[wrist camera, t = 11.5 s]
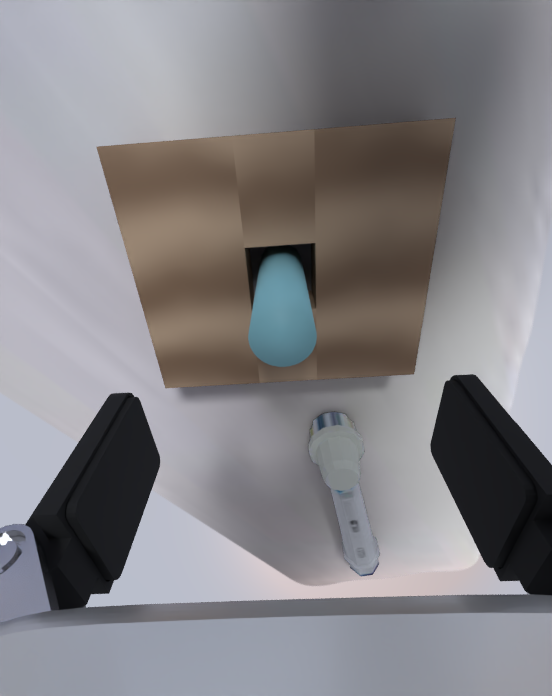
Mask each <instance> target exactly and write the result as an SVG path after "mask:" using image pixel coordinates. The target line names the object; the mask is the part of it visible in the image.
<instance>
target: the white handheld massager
mask: <svg viewBox="0 0 552 696" xmlns="http://www.w3.org/2000/svg"><path fill="white" fill-rule="evenodd" d="M310 437H311V440H310V442H309V445H308V450H309V454H310V457H311V460H312V462H314V463H315V464H316V465H318V466H319V467H320V471H321V474H322V478H323V480H324V482H325V483H326V485H327V486H328V487H330V489H331V493H332V497H333V501H334V505H335V509H336V514H337V518H338V522H339V526H340V530H341V534H342V538H343V542H342V547H343V553H344V558H345V560H346V561H347V562H348V563H349V565H350V568H351V569H352V570H354V571H355V572H356V573H357V574H359V575H360V576H367V575H373V573H374V572H375V570H376V568H377V567H378V565H379V562H378V557H379V556H380V552H379V548H378V544H377V540H376V538H375V537H374V536H373V535H372V531H371V528H370V524H369V520H368V516H367V512H366V508H365V505H364V501H363V497H362V493H361V489H360V485H359V480H360V475H361V471H360V465H359V461H360V459H361V457H362V455H363V454H364V446H363V441H362V437H361V435H360V434H358V433H357V432H356V429H355V425H354V422H353V421H352V422H351V421H350V420H349V419H348V418H347V417H346V414H342V413H338V412H330V413H325V414H322V415H320V416H319V417H317V418H316V419H315V420H313V426H312V428H311V429H310Z"/></svg>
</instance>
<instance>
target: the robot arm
mask: <svg viewBox="0 0 552 696" xmlns="http://www.w3.org/2000/svg"><path fill="white" fill-rule="evenodd" d="M431 453H432V456H433V458H434V460H435V462H436V464H437V466H438V468H439V470H440V472H441V474H442V476H443V478H444V480H445V482H446V484H447V486H448V488H449V490H450V492H451V495H452V497H453V499H454V501H455V503H456V505H457V507H458V509H459V511H460V513H461V515H462V517H463V519H464V521H465V523H466V525H467V527H468V529H469V531H470V533H471V535H472V537H473V540H474V542H475V544H476V546H477V548H478V550H479V552H480V554H481V556H482V558H483V560H484V562H485V563H486V565H487V566H488V567H490V568H494V570H495V572H496V574H497V576H498V578H499V580H500V581H520V583H521V584H522V586H523V588H524V590H525V591H526V592H527V595H443V596H402V597H361V598H329V599H296V600H295V599H293V600H263V601H262V600H260V601H230V602H201V603H175V604H174V603H173V604H145V605H125V606H106V607H88V608H86V606H85V605H86V604H87V602H88V600H89V597H90V595H91V594H105V593H109V592H110V590H111V587H112V584H113V581H114V580H117V579H118V578H119V577H120V576H121V574H122V571H123V568H124V566H125V563H126V560H127V557H128V554H129V551H130V549H131V546H132V543H133V540H134V537H135V535H136V532H137V529H138V526H139V523H140V521H141V518H142V515H143V512H144V509H145V506H146V504H147V501H148V498H149V495H150V492H151V490H152V487H153V484H154V481H155V478H156V476H157V473H158V470H159V467H160V456H159V453H158V450H157V447H156V444H155V442H154V439H153V436H152V433H151V430H150V428H149V425H148V422H147V419H146V416H145V414H144V411H143V408H142V405H141V402H140V400H139V398H138V397H134V396H133V394H132V393H115V394H111V395H110V396H109V397H108V398H107V400H106V401H105V403H104V404H103V406H102V407H101V409H100V410H99V412H98V414H97V415H96V417H95V418H94V420H93V421H92V423H91V424H90V426H89V427H88V429H87V431H86V432H85V434H84V435H83V437H82V438H81V440H80V441H79V443H78V444H77V446H76V447H75V449H74V451H73V452H72V454H71V455H70V457H69V458H68V460H67V461H66V463H65V465H64V466H63V468H62V469H61V471H60V472H59V474H58V475H57V477H56V478H55V480H54V481H53V483H52V484H51V486H50V488H49V489H48V491H47V492H46V494H45V495H44V497H43V498H42V500H41V502H40V503H39V504H38V506H37V507H36V509H35V511H34V512H33V514H32V515H31V517H30V518H29V520H28V521H27V523H26V525H24V524H13V525H9V526H5V527H2V528H0V696H552V465H551V464H550V462H549V461H548V460H547V459H546V458H545V457H544V455H543V454H542V453H541V452H540V450H539V449H538V448H537V447H536V446H535V444H534V443H533V442H532V441H531V440H530V439H529V437H528V436H527V435H526V434H525V433H524V431H523V430H522V429H521V428H520V427H519V425H518V424H517V423H516V422H515V421H514V420H513V419H512V418H511V417H510V415H509V414H508V413H507V412H506V411H505V409H504V408H503V407H502V406H501V405H500V403H499V402H498V401H497V400H496V399H495V397H494V396H493V395H492V394H491V393H490V391H489V390H488V389H487V388H486V387H485V386H484V384H483V383H482V382H481V381H480V380H479V378H478V377H477V376H476V375H473V374H472V375H454V376H452V377H451V379H450V381H446V382H445V385H444V389H443V393H442V397H441V402H440V406H439V410H438V414H437V419H436V423H435V427H434V432H433V436H432V440H431Z"/></svg>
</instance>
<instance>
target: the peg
mask: <svg viewBox="0 0 552 696" xmlns="http://www.w3.org/2000/svg"><path fill="white" fill-rule="evenodd" d="M248 340H249V345H250V347H251V349H252V351H253V353H254V354H255V355H256V356H257V357H258V358H259V359H260V360H261V361H263V362H265V363H267V364H269V365H272V366H277V367H287V366H292V365H295V364H298V363H300V362H302V361H303V360H305V359H306V358H307V357H308V356H309V355H310V354H311V353H312V351H313V349H314V347H315V345H316V340H317V333H316V328H315V323H314V318H313V313H312V308H311V304H310V299H309V294H308V289H307V284H306V280H305V275H304V270H303V265H302V260H301V257H300V254H299V252H298V251H297V250H296V249H295V248H294V247H293V246H291V245H279V246H269V247H268V248H267V249H266V250H265V251H264V252H263V254H262V256H261V260H260V266H259V272H258V278H257V284H256V290H255V297H254V303H253V309H252V315H251V321H250V327H249V334H248Z"/></svg>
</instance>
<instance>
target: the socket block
mask: <svg viewBox="0 0 552 696" xmlns="http://www.w3.org/2000/svg"><path fill="white" fill-rule="evenodd" d="M455 119H456V118H448V119H436V120H423V121H411V122H398V123H386V124H373V125H361V126H349V127H336V128H324V129H311V130H299V131H287V132H274V133H262V134H249V135H237V136H224V137H212V138H200V139H187V140H175V141H162V142H150V143H138V144H125V145H113V146H100V147H97V150H98V154H99V157H100V161H101V164H102V168H103V171H104V175H105V178H106V182H107V185H108V189H109V192H110V196H111V199H112V203H113V206H114V210H115V213H116V217H117V220H118V224H119V227H120V231H121V234H122V238H123V241H124V245H125V248H126V252H127V255H128V259H129V262H130V266H131V269H132V273H133V276H134V280H135V283H136V287H137V290H138V294H139V297H140V301H141V304H142V308H143V311H144V315H145V318H146V322H147V325H148V329H149V332H150V336H151V339H152V343H153V346H154V350H155V353H156V357H157V360H158V364H159V367H160V371H161V374H162V378H163V381H164V385H165V388H178V387H196V386H214V385H231V384H249V383H267V382H285V381H303V380H320V379H338V378H356V377H374V376H392V375H410V374H414V372H415V365H416V359H417V353H418V347H419V341H420V335H421V328H422V322H423V316H424V310H425V304H426V298H427V291H428V285H429V279H430V273H431V267H432V261H433V255H434V248H435V242H436V236H437V230H438V224H439V218H440V211H441V205H442V199H443V193H444V187H445V181H446V174H447V168H448V162H449V156H450V150H451V144H452V137H453V131H454V125H455ZM279 245H291V246H293V247H294V248H295V249H296V250H297V251H298V252H299V254H300V257H301V260H302V265H303V270H304V275H305V280H306V284H307V289H308V294H309V299H310V304H311V308H312V313H313V318H314V323H315V328H316V333H317V340H316V345H315V347H314V349H313V351H312V353H311V354H310V355H309V356H308V357H307V358H306V359H305V360H303V361H302V362H300V363H298V364H295V365H292V366H287V367H277V366H272V365H269V364H267V363H265V362H263V361H261V360H260V359H259V358H258V357H257V356H256V355H255V354H254V353H253V351H252V349H251V347H250V345H249V340H248V334H249V327H250V321H251V315H252V309H253V303H254V297H255V290H256V284H257V278H258V272H259V266H260V260H261V256H262V254H263V252H264V251H265V250H266V249H267V248H268V247H269V246H279Z"/></svg>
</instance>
